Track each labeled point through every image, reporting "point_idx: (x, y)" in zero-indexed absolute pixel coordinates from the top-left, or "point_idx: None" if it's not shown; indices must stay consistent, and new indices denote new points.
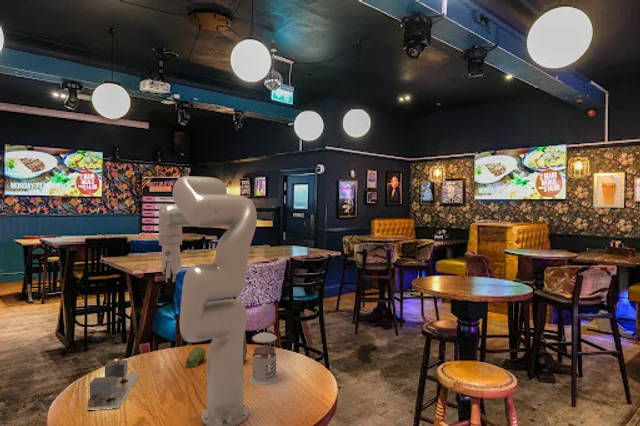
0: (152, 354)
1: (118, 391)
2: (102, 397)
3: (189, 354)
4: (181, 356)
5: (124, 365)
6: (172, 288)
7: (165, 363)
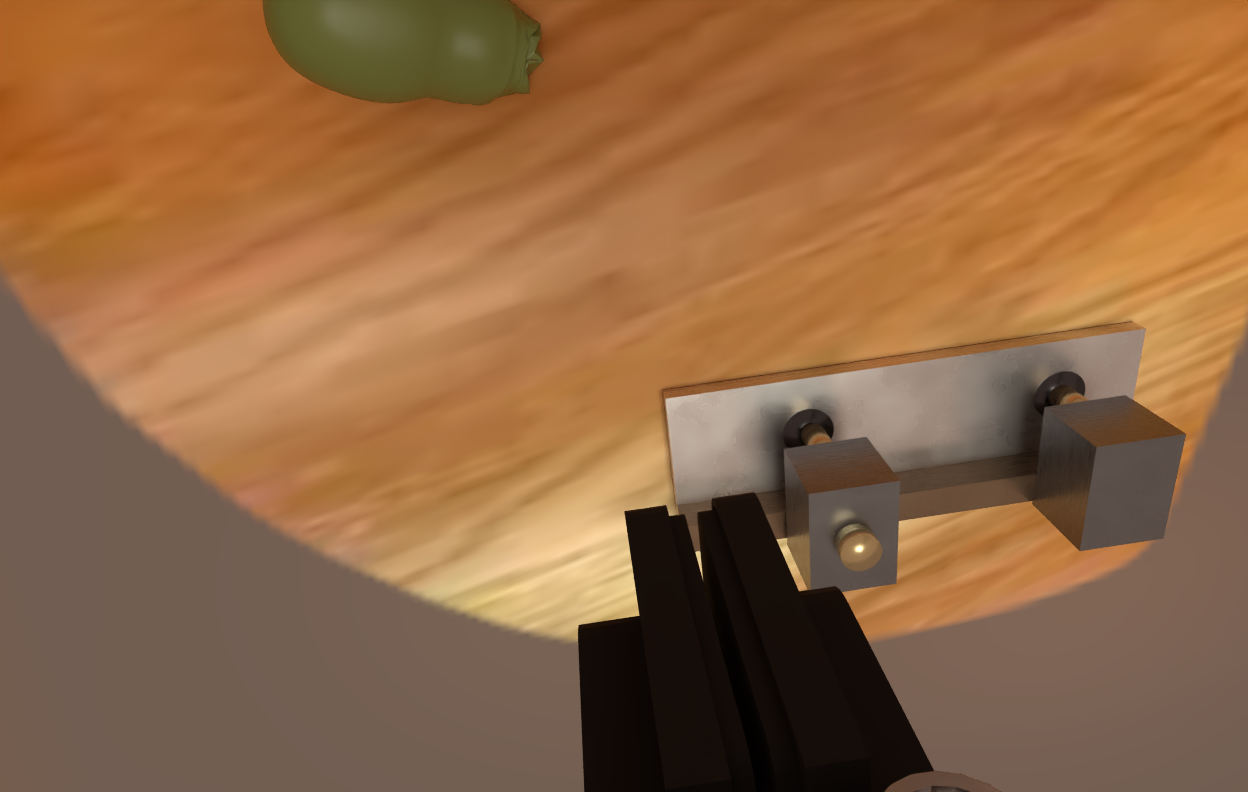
0: (246, 452)
1: (953, 402)
2: (1013, 451)
3: (427, 87)
4: (260, 209)
5: (881, 475)
6: (863, 636)
7: (433, 291)
